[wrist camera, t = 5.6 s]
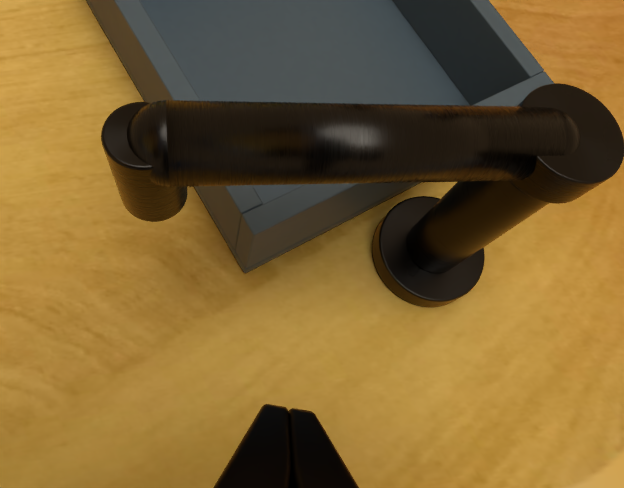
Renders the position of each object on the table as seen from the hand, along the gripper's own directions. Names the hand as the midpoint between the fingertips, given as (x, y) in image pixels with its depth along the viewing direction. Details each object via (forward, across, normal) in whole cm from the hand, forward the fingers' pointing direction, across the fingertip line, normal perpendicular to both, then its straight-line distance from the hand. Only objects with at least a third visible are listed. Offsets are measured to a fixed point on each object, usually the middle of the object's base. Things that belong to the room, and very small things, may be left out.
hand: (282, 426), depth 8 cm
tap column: (+12, -6, +1) cm, 14 cm away
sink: (+18, 0, -4) cm, 18 cm away
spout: (+7, -1, -2) cm, 7 cm away
